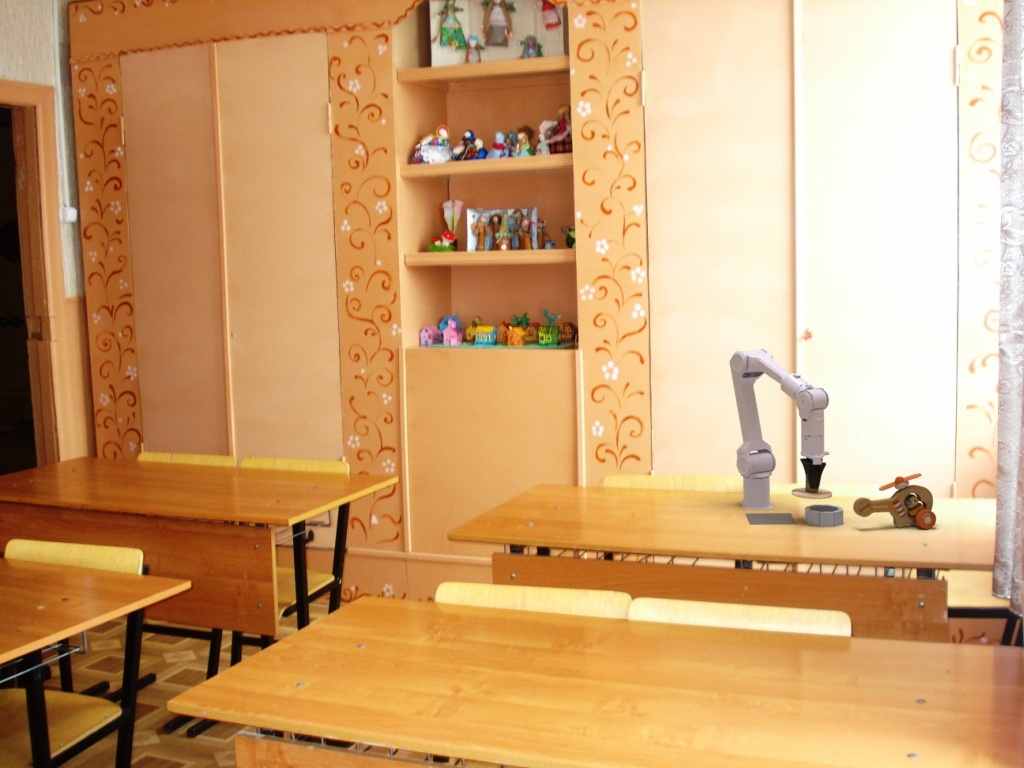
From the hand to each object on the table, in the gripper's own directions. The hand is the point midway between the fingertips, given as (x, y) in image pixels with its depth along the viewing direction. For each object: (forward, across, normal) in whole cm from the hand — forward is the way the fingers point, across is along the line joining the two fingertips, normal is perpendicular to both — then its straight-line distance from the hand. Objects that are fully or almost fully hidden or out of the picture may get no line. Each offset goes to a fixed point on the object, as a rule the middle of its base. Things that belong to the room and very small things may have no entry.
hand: (813, 487), depth 257 cm
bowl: (+10, -1, -2) cm, 10 cm away
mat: (+10, +3, +10) cm, 15 cm away
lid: (+2, 0, 0) cm, 2 cm away
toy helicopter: (+10, -4, -20) cm, 23 cm away
